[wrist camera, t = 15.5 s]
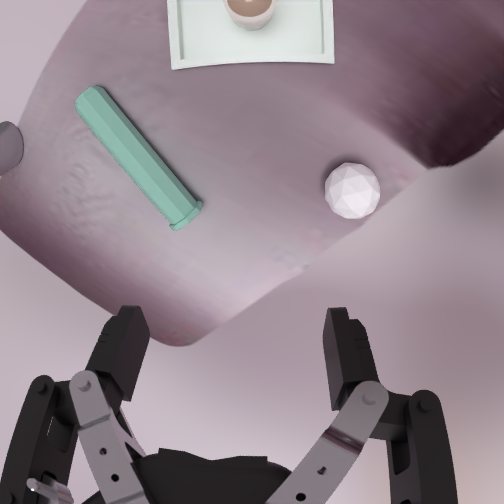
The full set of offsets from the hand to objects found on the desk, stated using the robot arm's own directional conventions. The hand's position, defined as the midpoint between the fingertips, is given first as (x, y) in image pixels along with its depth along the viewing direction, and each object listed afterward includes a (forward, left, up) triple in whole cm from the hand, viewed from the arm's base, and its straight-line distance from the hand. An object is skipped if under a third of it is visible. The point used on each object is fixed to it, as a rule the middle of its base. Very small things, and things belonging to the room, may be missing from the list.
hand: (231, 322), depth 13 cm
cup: (0, +17, -32) cm, 36 cm away
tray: (0, +17, -33) cm, 37 cm away
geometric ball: (+13, -7, -33) cm, 36 cm away
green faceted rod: (-17, -1, -33) cm, 37 cm away
